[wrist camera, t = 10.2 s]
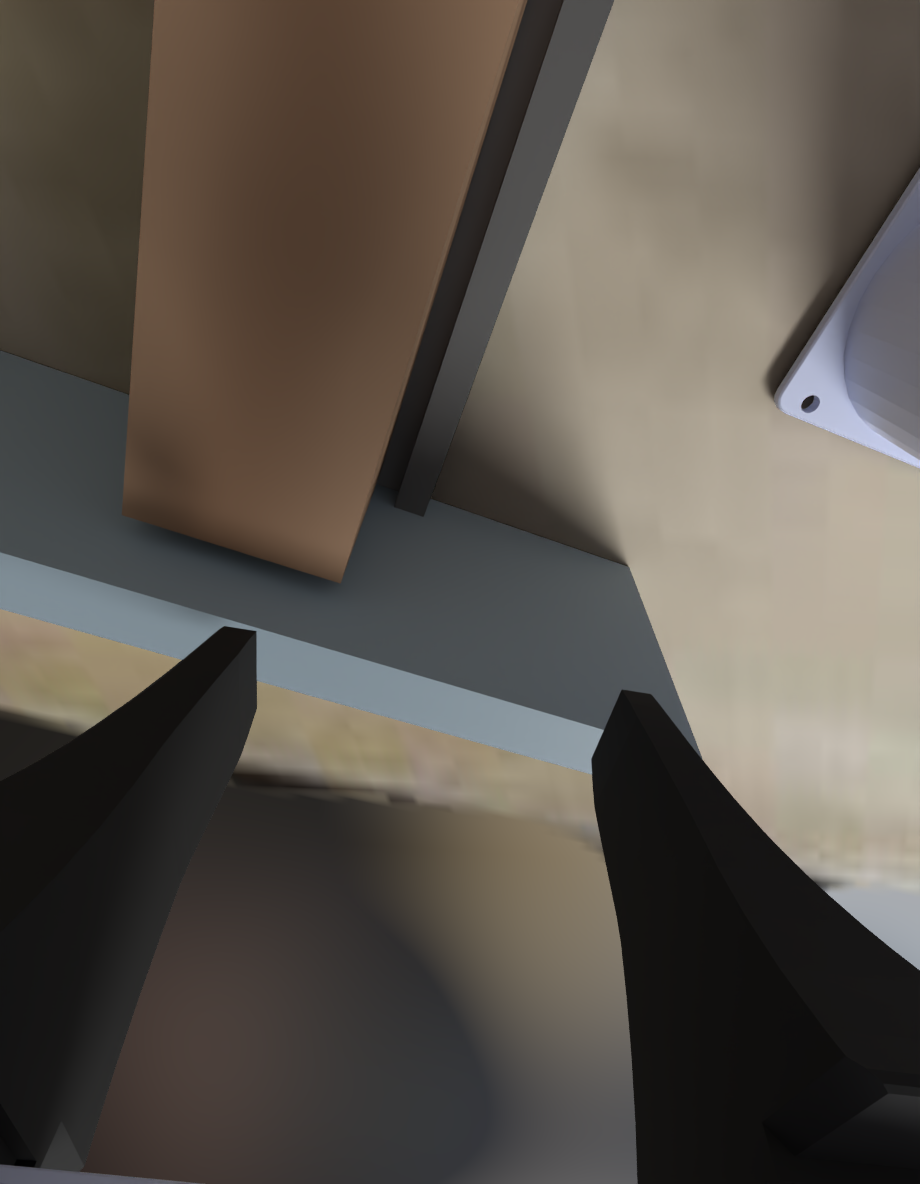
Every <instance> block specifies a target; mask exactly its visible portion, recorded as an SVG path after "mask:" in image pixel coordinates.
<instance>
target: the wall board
mask: <svg viewBox="0 0 920 1184" xmlns="http://www.w3.org/2000/svg"><path fill="white" fill-rule="evenodd" d="M613 2H614V0H528V1H527V4H526V7H525V10H524V13H523V17H522V20H521V23H520V26H519V30H518V33H517V36H516V39H515V42H514V46H513V49H512V52H511V55H510V58H509V62H508V65H507V68H506V71H505V74H504V78H503V81H502V84H501V87H500V91H499V94H498V97H497V100H496V103H495V107H494V110H493V113H492V116H491V119H490V123H489V126H488V129H487V132H486V135H485V139H484V142H483V145H482V148H481V151H480V155H479V158H478V161H477V164H476V168H475V171H474V174H473V177H472V180H471V184H470V187H469V190H468V193H467V196H466V200H465V203H464V206H463V209H462V212H461V216H460V219H459V222H458V225H457V229H456V232H455V235H454V238H453V241H452V245H451V248H450V251H449V254H448V257H447V261H446V264H445V267H444V270H443V273H442V277H441V280H440V283H439V286H438V290H437V293H436V296H435V299H434V302H433V306H432V309H431V312H430V315H429V318H428V322H427V325H426V328H425V331H424V334H423V338H422V341H421V344H420V347H419V351H418V354H417V357H416V360H415V363H414V367H413V370H412V373H411V376H410V379H409V383H408V386H407V389H406V392H405V395H404V399H403V402H402V405H401V408H400V411H399V415H398V418H397V421H396V424H395V428H394V431H393V434H392V437H391V440H390V444H389V447H388V450H387V453H386V456H385V460H384V463H383V466H382V469H381V472H380V475H379V478H378V480H377V483H376V486H375V489H374V492H373V494H372V497H371V500H370V503H369V506H368V508H367V511H366V514H365V517H364V520H363V522H362V525H361V528H360V531H359V534H358V536H357V539H356V542H355V545H354V547H353V550H352V553H351V556H350V559H349V561H348V564H347V567H346V570H345V573H344V575H343V578H342V581H341V584H340V583H337V582H334V581H331V580H327V579H324V578H321V577H318V576H315V575H311V574H308V573H305V572H302V571H299V570H295V569H292V568H289V567H286V566H283V565H279V564H276V563H273V562H270V561H267V560H264V559H260V558H257V557H254V556H251V555H248V554H244V553H241V552H238V551H235V550H232V549H228V548H225V547H222V546H219V545H216V544H212V543H209V542H206V541H203V540H200V539H196V538H193V537H190V536H187V535H184V534H181V533H177V532H174V531H171V530H168V529H165V528H161V527H158V526H155V525H152V524H149V523H145V522H142V521H139V520H136V519H133V518H129V517H126V516H123V515H122V503H123V488H124V472H125V456H126V441H127V425H128V409H129V395H128V394H125V393H122V392H120V391H117V390H114V389H111V388H108V387H105V386H102V385H99V384H96V383H93V382H91V381H88V380H85V379H82V378H79V377H76V376H73V375H70V374H67V373H64V372H62V371H59V370H56V369H53V368H50V367H47V366H44V365H41V364H38V363H35V362H33V361H30V360H27V359H24V358H21V357H18V356H15V355H12V354H9V353H6V352H4V351H1V350H0V609H3V610H6V611H10V612H13V613H17V614H21V615H24V616H28V617H31V618H35V619H38V620H42V621H46V622H49V623H53V624H56V625H60V626H63V627H67V628H71V629H74V630H78V631H81V632H85V633H88V634H92V635H96V636H99V637H103V638H106V639H110V640H113V641H117V642H121V643H124V644H128V645H131V646H135V647H138V648H142V649H146V650H149V651H153V652H156V653H160V654H163V655H167V656H171V657H174V658H178V659H181V660H183V659H184V658H185V657H187V656H188V655H189V654H190V653H191V652H193V651H194V650H195V649H196V648H197V647H199V646H200V645H201V644H202V643H203V642H204V641H206V640H207V639H208V638H209V637H210V636H212V635H213V634H214V633H215V632H216V631H218V630H219V629H220V628H222V627H224V626H228V627H234V628H240V629H247V630H253V631H257V681H260V682H263V683H267V684H271V685H274V686H278V687H281V688H285V689H288V690H292V691H296V692H299V693H303V694H306V695H310V696H313V697H317V698H321V699H324V700H328V701H331V702H335V703H338V704H342V705H346V706H349V707H353V708H356V709H360V710H363V711H367V712H371V713H374V714H378V715H381V716H385V717H388V718H392V719H396V720H399V721H403V722H406V723H410V724H413V725H417V726H421V727H424V728H428V729H431V730H435V731H438V732H442V733H445V734H449V735H453V736H456V737H460V738H463V739H467V740H470V741H474V742H478V743H481V744H485V745H488V746H492V747H495V748H499V749H503V750H506V751H510V752H513V753H517V754H520V755H524V756H528V757H531V758H535V759H538V760H542V761H545V762H549V763H553V764H556V765H560V766H563V767H567V768H570V769H574V770H578V771H581V772H585V773H588V774H592V763H591V758H592V756H593V754H594V751H595V749H596V747H597V745H598V742H599V740H600V738H601V735H602V733H603V731H604V729H605V726H606V724H607V722H608V719H609V717H610V715H611V713H612V710H613V708H614V706H615V703H616V701H617V699H618V697H619V694H620V692H621V690H622V689H623V690H629V691H635V692H642V693H648V694H652V695H653V697H654V698H655V699H656V700H657V702H658V703H659V704H660V705H661V707H662V708H663V709H664V711H665V712H666V713H667V715H668V716H669V717H670V718H671V720H672V721H673V722H674V724H675V725H676V726H677V728H678V729H679V730H680V732H681V733H682V734H683V735H684V737H685V738H686V739H687V741H688V742H689V743H690V745H691V746H692V747H693V748H694V750H695V751H696V752H697V754H698V755H699V756H700V757H701V754H700V751H699V749H698V746H697V743H696V741H695V738H694V736H693V733H692V730H691V728H690V725H689V723H688V720H687V717H686V715H685V712H684V709H683V707H682V704H681V702H680V699H679V696H678V694H677V691H676V689H675V686H674V683H673V681H672V678H671V675H670V673H669V670H668V668H667V665H666V662H665V660H664V657H663V655H662V652H661V649H660V647H659V644H658V641H657V639H656V636H655V634H654V631H653V628H652V626H651V623H650V621H649V618H648V615H647V613H646V610H645V608H644V605H643V602H642V600H641V597H640V594H639V592H638V589H637V587H636V584H635V581H634V579H633V576H632V574H631V571H630V568H629V567H627V566H624V565H622V564H619V563H616V562H613V561H610V560H607V559H604V558H601V557H598V556H595V555H593V554H590V553H587V552H584V551H581V550H578V549H575V548H572V547H569V546H566V545H564V544H561V543H558V542H555V541H552V540H549V539H546V538H543V537H540V536H537V535H535V534H532V533H529V532H526V531H523V530H520V529H517V528H514V527H511V526H508V525H505V524H503V523H500V522H497V521H494V520H491V519H488V518H485V517H482V516H479V515H476V514H474V513H471V512H468V511H465V510H462V509H459V508H456V507H453V506H450V505H447V504H445V503H442V502H439V501H436V500H433V499H430V498H431V496H432V493H433V490H434V487H435V485H436V482H437V479H438V477H439V474H440V471H441V469H442V466H443V463H444V460H445V458H446V455H447V452H448V450H449V447H450V444H451V441H452V439H453V436H454V433H455V431H456V428H457V425H458V422H459V420H460V417H461V414H462V412H463V409H464V406H465V403H466V401H467V398H468V395H469V393H470V390H471V387H472V384H473V382H474V379H475V376H476V374H477V371H478V368H479V365H480V363H481V360H482V357H483V355H484V352H485V349H486V346H487V344H488V341H489V338H490V336H491V333H492V330H493V327H494V325H495V322H496V319H497V317H498V314H499V311H500V308H501V306H502V303H503V300H504V298H505V295H506V292H507V290H508V287H509V284H510V281H511V279H512V276H513V273H514V271H515V268H516V265H517V262H518V260H519V257H520V254H521V252H522V249H523V246H524V243H525V241H526V238H527V235H528V233H529V230H530V227H531V224H532V222H533V219H534V216H535V214H536V211H537V208H538V205H539V203H540V200H541V197H542V195H543V192H544V189H545V186H546V184H547V181H548V178H549V176H550V173H551V170H552V167H553V165H554V162H555V159H556V157H557V154H558V151H559V148H560V146H561V143H562V140H563V138H564V135H565V132H566V129H567V127H568V124H569V121H570V119H571V116H572V113H573V110H574V108H575V105H576V102H577V100H578V97H579V94H580V92H581V89H582V86H583V83H584V81H585V78H586V75H587V73H588V70H589V67H590V64H591V62H592V59H593V56H594V54H595V51H596V48H597V45H598V43H599V40H600V37H601V35H602V32H603V29H604V26H605V24H606V21H607V18H608V16H609V13H610V10H611V7H612V5H613ZM701 759H702V757H701Z"/></svg>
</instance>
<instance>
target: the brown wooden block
mask: <svg viewBox="0 0 920 1184" xmlns="http://www.w3.org/2000/svg"><path fill="white" fill-rule="evenodd" d="M527 1H528V0H155V1H154V17H153V33H152V48H151V64H150V80H149V95H148V111H147V127H146V143H145V158H144V174H143V190H142V205H141V221H140V237H139V252H138V268H137V284H136V299H135V315H134V331H133V346H132V362H131V378H130V394H129V409H128V425H127V441H126V456H125V472H124V488H123V503H122V515H123V516H126V517H129V518H133V519H136V520H139V521H142V522H145V523H149V524H152V525H155V526H158V527H161V528H165V529H168V530H171V531H174V532H177V533H181V534H184V535H187V536H190V537H193V538H196V539H200V540H203V541H206V542H209V543H212V544H216V545H219V546H222V547H225V548H228V549H232V550H235V551H238V552H241V553H244V554H248V555H251V556H254V557H257V558H260V559H264V560H267V561H270V562H273V563H276V564H279V565H283V566H286V567H289V568H292V569H295V570H299V571H302V572H305V573H308V574H311V575H315V576H318V577H321V578H324V579H327V580H331V581H334V582H337V583H340V584H341V581H342V578H343V575H344V573H345V570H346V567H347V564H348V561H349V559H350V556H351V553H352V550H353V547H354V545H355V542H356V539H357V536H358V534H359V531H360V528H361V525H362V522H363V520H364V517H365V514H366V511H367V508H368V506H369V503H370V500H371V497H372V494H373V492H374V489H375V486H376V483H377V480H378V478H379V475H380V472H381V469H382V466H383V463H384V460H385V456H386V453H387V450H388V447H389V444H390V440H391V437H392V434H393V431H394V428H395V424H396V421H397V418H398V415H399V411H400V408H401V405H402V402H403V399H404V395H405V392H406V389H407V386H408V383H409V379H410V376H411V373H412V370H413V367H414V363H415V360H416V357H417V354H418V351H419V347H420V344H421V341H422V338H423V334H424V331H425V328H426V325H427V322H428V318H429V315H430V312H431V309H432V306H433V302H434V299H435V296H436V293H437V290H438V286H439V283H440V280H441V277H442V273H443V270H444V267H445V264H446V261H447V257H448V254H449V251H450V248H451V245H452V241H453V238H454V235H455V232H456V229H457V225H458V222H459V219H460V216H461V212H462V209H463V206H464V203H465V200H466V196H467V193H468V190H469V187H470V184H471V180H472V177H473V174H474V171H475V168H476V164H477V161H478V158H479V155H480V151H481V148H482V145H483V142H484V139H485V135H486V132H487V129H488V126H489V123H490V119H491V116H492V113H493V110H494V107H495V103H496V100H497V97H498V94H499V91H500V87H501V84H502V81H503V78H504V74H505V71H506V68H507V65H508V62H509V58H510V55H511V52H512V49H513V46H514V42H515V39H516V36H517V33H518V30H519V26H520V23H521V20H522V17H523V13H524V10H525V7H526V4H527Z"/></svg>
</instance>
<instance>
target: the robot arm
mask: <svg viewBox="0 0 920 1184" xmlns="http://www.w3.org/2000/svg"><path fill="white" fill-rule="evenodd" d="M811 395H813V396H814V400H813V403H812V404H811V405H810V406H809V407H807V408H805V409H801V404H802V402H803V400H804V399H805V398H806V397H808V396H811ZM774 402H775V405H776V407H777V408H779V409H780V410H781V411H783V412H784V413H785V414H788V415H790V416H793V417H795V418H798V419H800V420H803V421H805V422H807V423H810V424H812V425H815V426H817V427H820V428H822V429H825V430H827V431H829V432H832V433H834V434H837V435H839V436H842V437H844V438H847V439H849V440H851V441H854V442H856V443H859V444H861V445H864V446H866V447H869V448H871V449H873V450H876V451H878V452H881V453H883V454H886V455H888V456H891V457H893V458H895V459H898V460H900V461H903V462H905V463H908V464H910V465H913V466H915V467H917V468H920V168H919V169H918V171H917V173H916V174H915V176H914V177H913V179H912V180H911V182H910V183H909V185H908V187H907V188H906V190H905V191H904V193H903V194H902V196H901V197H900V199H899V201H898V202H897V204H896V205H895V207H894V208H893V210H892V211H891V213H890V215H889V216H888V218H887V219H886V221H885V222H884V224H883V225H882V227H881V229H880V230H879V232H878V233H877V235H876V236H875V238H874V239H873V241H872V243H871V244H870V246H869V247H868V249H867V250H866V252H865V253H864V255H863V257H862V258H861V260H860V261H859V263H858V264H857V266H856V267H855V269H854V271H853V272H852V274H851V275H850V277H849V278H848V280H847V281H846V283H845V285H844V286H843V288H842V289H841V291H840V292H839V294H838V295H837V297H836V299H835V300H834V302H833V303H832V305H831V306H830V308H829V309H828V311H827V312H826V314H825V316H824V317H823V319H822V320H821V322H820V323H819V325H818V326H817V328H816V330H815V331H814V333H813V334H812V336H811V337H810V339H809V340H808V342H807V344H806V345H805V347H804V348H803V350H802V351H801V353H800V354H799V356H798V358H797V359H796V361H795V362H794V364H793V365H792V367H791V368H790V370H789V372H788V373H787V375H786V376H785V378H784V379H783V381H782V382H781V384H780V386H779V387H778V389H777V391H776V393H775V395H774ZM256 709H257V631H253V630H247V629H240V628H234V627H228V626H224V627H222V628H220V629H219V630H218V631H216V632H215V633H214V634H213V635H212V636H210V637H209V638H208V639H207V640H206V641H204V642H203V643H202V644H201V645H200V646H199V647H197V648H196V649H195V650H194V651H193V652H191V653H190V654H189V655H188V656H187V657H185V658H184V659H183V660H182V661H180V662H179V663H178V664H177V665H175V666H174V667H173V668H172V669H171V670H169V671H168V672H167V673H165V674H164V675H163V676H162V677H160V678H159V679H158V680H156V681H155V682H154V683H153V684H151V685H150V686H149V687H147V688H146V689H145V690H143V691H142V692H141V693H140V694H138V695H137V696H136V697H134V698H133V699H132V700H130V701H129V702H127V703H126V704H124V705H123V706H122V707H120V708H119V709H117V710H116V711H114V712H113V713H112V714H110V715H109V716H107V717H106V718H104V719H103V720H102V721H100V722H99V723H97V724H96V725H95V726H93V727H92V728H90V729H88V730H87V731H85V732H84V733H82V734H81V735H79V736H78V737H76V738H75V739H73V740H72V741H70V742H68V743H67V744H65V745H63V746H62V747H60V748H59V749H57V750H55V751H54V752H52V753H50V754H49V755H47V756H45V757H44V758H42V759H40V760H38V761H37V762H35V763H33V764H32V765H30V766H28V767H26V768H25V769H22V770H21V771H19V772H17V773H15V774H14V775H11V776H10V777H8V778H6V779H4V780H2V781H0V1184H201V1183H189V1182H180V1181H169V1180H158V1179H148V1178H137V1177H126V1176H116V1175H106V1174H94V1173H85V1172H84V1173H83V1172H79V1171H80V1170H81V1169H82V1168H83V1167H84V1165H85V1162H86V1159H87V1156H88V1152H89V1149H90V1146H91V1142H92V1139H93V1136H94V1133H95V1130H96V1127H97V1124H98V1120H99V1117H100V1114H101V1111H102V1108H103V1104H104V1101H105V1098H106V1095H107V1092H108V1089H109V1086H110V1082H111V1079H112V1076H113V1073H114V1070H115V1067H116V1064H117V1060H118V1058H119V1055H120V1052H121V1049H122V1046H123V1043H124V1040H125V1037H126V1034H127V1031H128V1028H129V1025H130V1022H131V1019H132V1016H133V1013H134V1010H135V1007H136V1004H137V1001H138V998H139V996H140V993H141V990H142V987H143V984H144V981H145V979H146V975H147V973H148V970H149V967H150V965H151V962H152V959H153V956H154V953H155V950H156V948H157V945H158V942H159V939H160V936H161V934H162V931H163V928H164V925H165V923H166V920H167V918H168V915H169V912H170V909H171V907H172V904H173V901H174V899H175V896H176V893H177V891H178V888H179V885H180V883H181V881H182V878H183V876H184V874H185V871H186V869H187V867H188V865H189V862H190V860H191V858H192V856H193V854H194V852H195V850H196V848H197V846H198V843H199V842H200V839H201V837H202V835H203V833H204V831H205V829H206V827H207V825H208V823H209V821H210V819H211V817H212V815H213V813H214V810H215V809H216V806H217V804H218V802H219V800H220V798H221V796H222V794H223V792H224V790H225V788H226V786H227V784H228V782H229V780H230V777H231V775H232V773H233V771H234V769H235V767H236V765H237V763H238V761H239V758H240V756H241V754H242V751H243V748H244V745H245V742H246V739H247V737H248V734H249V731H250V728H251V725H252V722H253V718H254V715H255V712H256ZM591 763H592V780H593V793H594V805H595V812H596V817H597V822H598V827H599V832H600V837H601V842H602V847H603V852H604V857H605V862H606V866H607V872H608V876H609V881H610V886H611V891H612V895H613V901H614V906H615V910H616V915H617V921H618V927H619V933H620V939H621V947H622V956H623V966H624V976H625V985H626V995H627V1007H628V1018H629V1030H630V1042H631V1055H632V1070H633V1088H634V1104H635V1121H636V1148H637V1177H638V1184H920V970H918V969H917V968H916V967H914V966H913V965H912V964H911V963H909V962H908V961H907V960H905V959H904V958H902V956H900V955H899V954H898V953H896V952H895V951H894V950H892V949H891V948H890V947H889V946H888V945H886V944H885V943H884V942H883V941H881V940H880V939H879V938H878V937H877V936H875V935H874V934H873V933H872V932H870V931H869V930H868V929H867V928H866V927H864V926H863V925H862V924H861V923H860V922H859V921H857V920H856V919H855V918H854V917H853V916H852V915H851V914H850V913H848V912H847V911H846V910H845V909H844V908H843V907H842V906H840V905H839V904H838V903H837V902H836V901H834V899H832V898H831V897H830V896H829V895H828V894H827V893H826V892H825V891H823V890H822V889H821V888H820V887H819V886H818V885H817V884H816V883H815V882H814V881H813V880H812V879H811V878H809V877H808V876H807V875H806V874H805V873H804V872H803V871H802V870H801V869H800V868H799V867H798V866H797V865H796V864H795V863H794V862H793V861H792V860H791V859H790V858H789V857H788V856H787V855H786V854H785V853H784V852H783V851H782V850H781V849H780V848H779V847H778V846H777V845H776V844H775V843H774V842H773V841H772V840H771V839H770V838H769V837H768V836H767V834H766V833H765V832H764V831H763V830H762V829H761V828H760V827H759V826H758V825H757V824H756V823H755V821H754V820H753V819H752V818H751V817H750V816H749V815H748V814H747V812H746V811H745V810H744V809H743V808H742V807H741V806H740V805H739V803H738V802H737V801H736V800H735V799H734V798H733V796H732V795H731V794H730V793H729V792H728V791H727V789H726V788H725V787H724V786H723V785H722V783H721V782H720V781H719V780H718V779H717V777H716V776H715V775H714V774H713V772H712V771H711V770H710V769H709V767H708V766H707V765H706V764H705V762H704V761H703V760H702V759H701V757H700V756H699V755H698V754H697V752H696V751H695V750H694V748H693V747H692V746H691V745H690V743H689V742H688V741H687V739H686V738H685V737H684V735H683V734H682V733H681V732H680V730H679V729H678V728H677V726H676V725H675V724H674V722H673V721H672V720H671V718H670V717H669V716H668V715H667V713H666V712H665V711H664V709H663V708H662V707H661V705H660V704H659V703H658V702H657V700H656V699H655V698H654V697H653V695H652V694H648V693H642V692H635V691H629V690H623V689H622V690H621V692H620V694H619V697H618V699H617V701H616V703H615V706H614V708H613V710H612V713H611V715H610V717H609V719H608V722H607V724H606V726H605V729H604V731H603V733H602V735H601V738H600V740H599V742H598V745H597V747H596V749H595V751H594V754H593V756H592V758H591Z"/></svg>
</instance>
